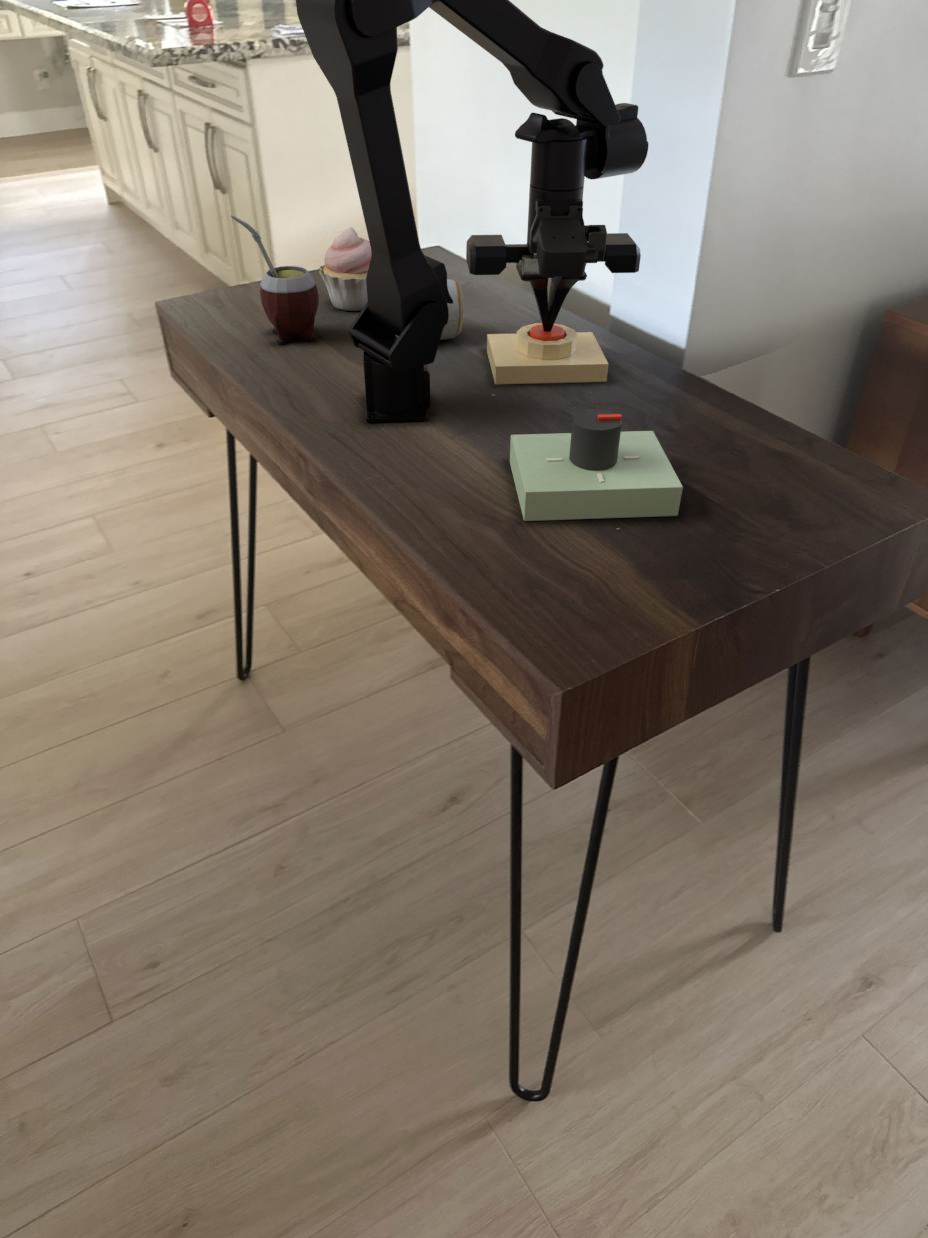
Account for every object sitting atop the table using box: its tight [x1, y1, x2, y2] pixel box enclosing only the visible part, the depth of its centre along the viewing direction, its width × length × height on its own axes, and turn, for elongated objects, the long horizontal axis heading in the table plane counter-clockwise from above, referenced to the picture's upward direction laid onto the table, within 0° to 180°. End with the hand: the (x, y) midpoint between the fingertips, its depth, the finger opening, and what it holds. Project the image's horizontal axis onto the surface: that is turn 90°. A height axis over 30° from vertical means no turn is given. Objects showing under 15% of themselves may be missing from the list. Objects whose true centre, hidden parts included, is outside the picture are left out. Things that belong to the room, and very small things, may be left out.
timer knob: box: [569, 408, 623, 470], centre depth 82 cm, size 4×4×4 cm
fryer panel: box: [509, 430, 684, 522], centre depth 84 cm, size 14×11×3 cm
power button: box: [530, 324, 564, 341], centre depth 105 cm, size 4×4×2 cm
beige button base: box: [486, 322, 609, 385], centre depth 106 cm, size 13×10×4 cm
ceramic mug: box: [440, 278, 464, 341], centre depth 113 cm, size 11×8×8 cm
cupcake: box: [318, 226, 372, 312], centre depth 121 cm, size 9×9×10 cm
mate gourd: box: [230, 214, 320, 346], centre depth 109 cm, size 8×8×15 cm
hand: (546, 329), depth 105 cm, fingers closed, pressing on power button
